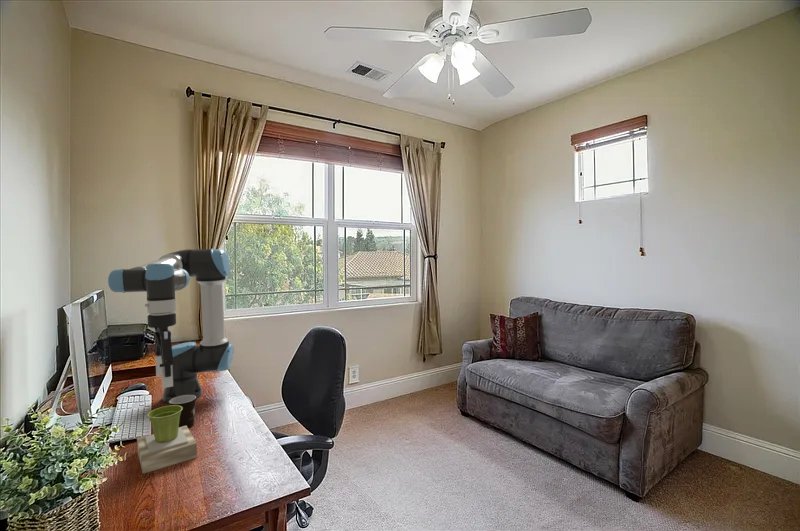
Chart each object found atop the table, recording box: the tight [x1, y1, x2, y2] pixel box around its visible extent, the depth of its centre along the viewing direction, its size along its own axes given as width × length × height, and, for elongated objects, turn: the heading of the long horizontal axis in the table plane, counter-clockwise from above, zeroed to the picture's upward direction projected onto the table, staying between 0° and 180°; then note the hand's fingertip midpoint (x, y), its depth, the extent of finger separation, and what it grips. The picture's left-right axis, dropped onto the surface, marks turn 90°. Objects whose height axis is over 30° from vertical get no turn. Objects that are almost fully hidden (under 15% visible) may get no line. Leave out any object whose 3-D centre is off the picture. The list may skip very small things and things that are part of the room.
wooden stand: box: [136, 425, 198, 474], centre depth 121 cm, size 16×14×5 cm
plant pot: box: [147, 405, 183, 442], centre depth 122 cm, size 9×9×9 cm
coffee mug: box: [168, 395, 197, 429], centre depth 143 cm, size 12×9×10 cm
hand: (164, 381), depth 121 cm, fingers open, 13 cm apart
